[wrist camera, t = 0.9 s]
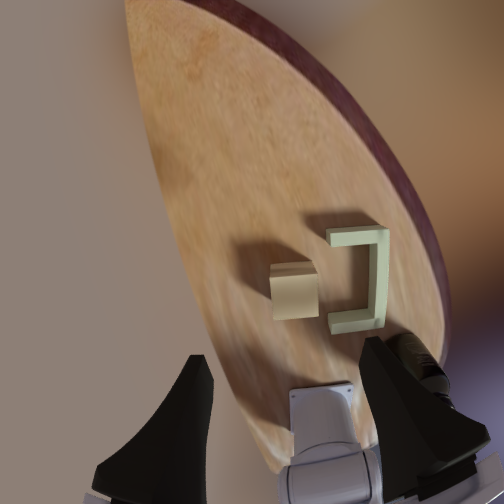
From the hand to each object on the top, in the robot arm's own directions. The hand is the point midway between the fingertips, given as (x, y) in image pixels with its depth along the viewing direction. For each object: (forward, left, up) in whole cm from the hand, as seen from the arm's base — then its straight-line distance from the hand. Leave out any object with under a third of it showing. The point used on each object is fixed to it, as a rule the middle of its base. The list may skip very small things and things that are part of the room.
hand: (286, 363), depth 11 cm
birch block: (-2, -1, -16) cm, 16 cm away
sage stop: (-2, -7, -16) cm, 17 cm away
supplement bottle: (-13, -13, -16) cm, 24 cm away
